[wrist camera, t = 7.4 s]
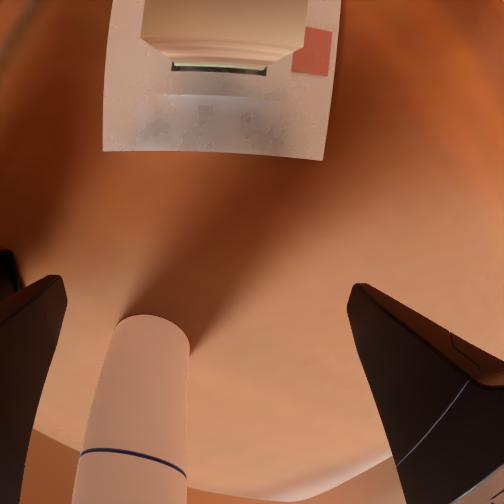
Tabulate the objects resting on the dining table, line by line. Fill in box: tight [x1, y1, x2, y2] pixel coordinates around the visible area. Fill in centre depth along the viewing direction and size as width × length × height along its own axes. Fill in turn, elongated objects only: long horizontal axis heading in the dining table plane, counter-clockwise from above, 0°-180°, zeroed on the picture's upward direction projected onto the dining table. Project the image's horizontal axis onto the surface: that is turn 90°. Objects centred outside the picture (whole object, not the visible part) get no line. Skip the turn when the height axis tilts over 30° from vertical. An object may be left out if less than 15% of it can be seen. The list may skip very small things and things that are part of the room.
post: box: [140, 0, 308, 71], centre depth 9 cm, size 4×4×8 cm
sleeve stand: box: [103, 0, 341, 161], centre depth 14 cm, size 14×14×4 cm
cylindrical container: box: [72, 315, 190, 504], centre depth 16 cm, size 7×7×25 cm
